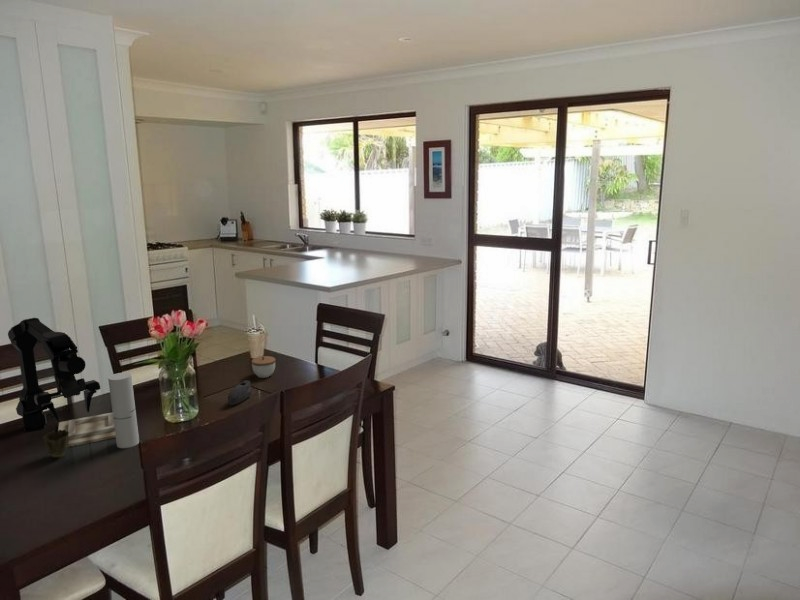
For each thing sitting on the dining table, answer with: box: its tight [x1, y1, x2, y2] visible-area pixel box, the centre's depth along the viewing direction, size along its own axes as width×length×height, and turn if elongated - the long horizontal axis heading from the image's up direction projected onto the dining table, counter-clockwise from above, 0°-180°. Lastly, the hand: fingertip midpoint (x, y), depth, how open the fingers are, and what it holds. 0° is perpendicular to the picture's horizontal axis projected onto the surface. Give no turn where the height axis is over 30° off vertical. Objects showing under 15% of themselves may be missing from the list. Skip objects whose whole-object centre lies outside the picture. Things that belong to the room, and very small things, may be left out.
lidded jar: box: [251, 355, 276, 379], centre depth 263 cm, size 11×11×9 cm
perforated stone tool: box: [227, 379, 252, 406], centre depth 234 cm, size 15×5×7 cm, turn 160°
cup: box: [42, 429, 69, 459], centre depth 189 cm, size 8×7×8 cm
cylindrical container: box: [107, 372, 140, 449], centre depth 196 cm, size 7×7×25 cm
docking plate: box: [57, 412, 116, 448], centre depth 209 cm, size 22×22×2 cm
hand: (73, 416), depth 191 cm, fingers open, 9 cm apart
